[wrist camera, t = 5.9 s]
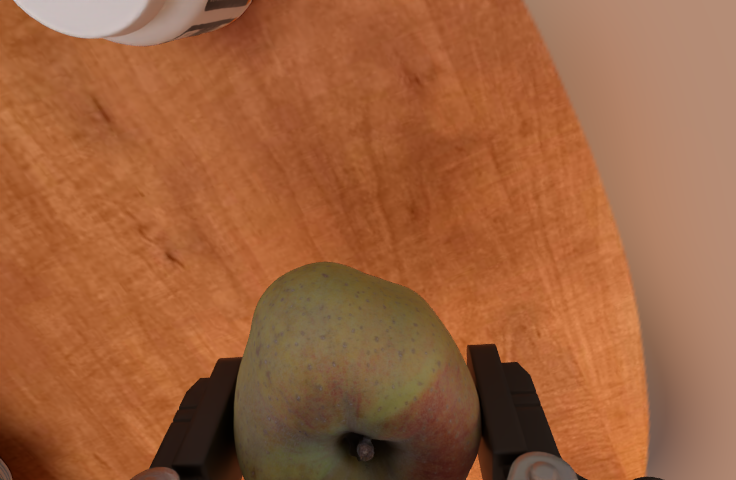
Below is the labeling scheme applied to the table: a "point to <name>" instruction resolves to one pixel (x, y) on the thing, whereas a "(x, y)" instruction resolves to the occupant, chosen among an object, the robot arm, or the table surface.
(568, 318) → the table surface
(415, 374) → the apple
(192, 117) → the table surface
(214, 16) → the pill bottle
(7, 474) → the chinaware
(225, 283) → the table surface
